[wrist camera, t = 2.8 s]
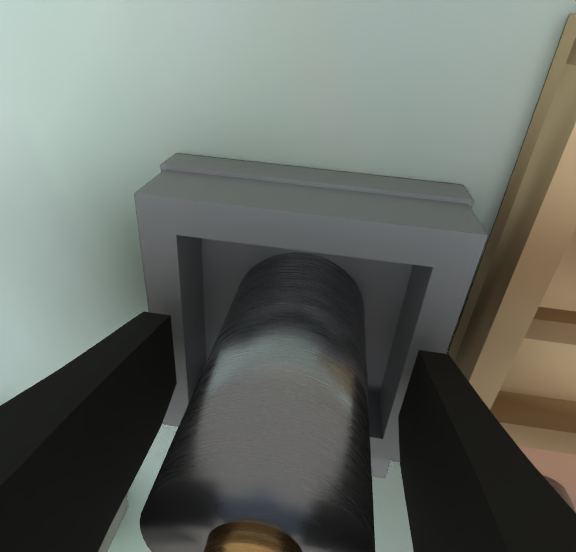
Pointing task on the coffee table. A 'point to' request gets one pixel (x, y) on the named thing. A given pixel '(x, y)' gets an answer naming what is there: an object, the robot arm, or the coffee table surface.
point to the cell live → (274, 424)
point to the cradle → (317, 241)
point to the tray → (531, 280)
